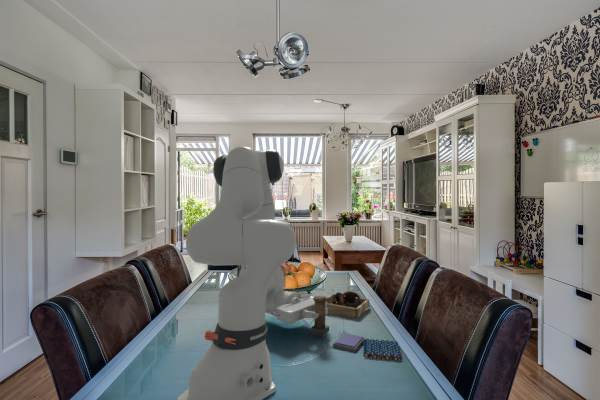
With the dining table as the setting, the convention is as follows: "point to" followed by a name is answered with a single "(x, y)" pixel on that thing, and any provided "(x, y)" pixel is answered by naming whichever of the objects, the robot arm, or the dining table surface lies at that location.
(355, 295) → the pottery mug
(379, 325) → the dining table surface
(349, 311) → the wooden tray
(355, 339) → the pad
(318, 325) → the stamp
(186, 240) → the robot arm
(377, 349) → the woven mat
